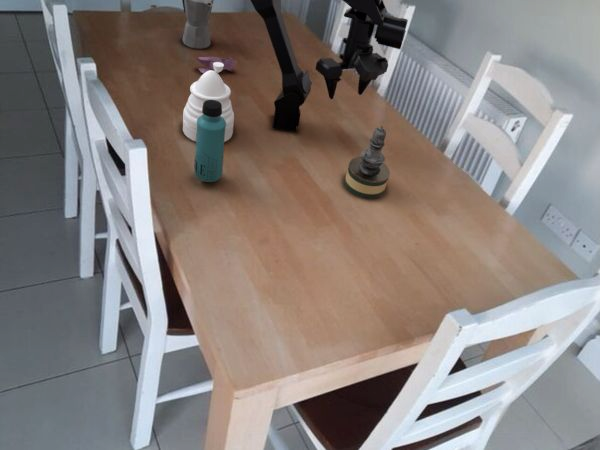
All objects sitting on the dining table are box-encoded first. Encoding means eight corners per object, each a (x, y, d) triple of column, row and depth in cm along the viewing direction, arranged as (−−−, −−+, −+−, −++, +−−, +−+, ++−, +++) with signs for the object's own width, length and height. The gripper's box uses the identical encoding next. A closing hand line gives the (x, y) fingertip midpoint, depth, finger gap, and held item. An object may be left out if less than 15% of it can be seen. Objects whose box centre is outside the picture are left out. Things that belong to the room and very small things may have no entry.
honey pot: (211, 112, 152) (216, 50, 141) (242, 135, 146) (249, 71, 135) (172, 125, 144) (173, 60, 133) (203, 149, 138) (207, 83, 127)
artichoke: (200, 56, 164) (238, 57, 170) (196, 53, 167) (233, 54, 173) (199, 74, 167) (237, 74, 172) (195, 70, 170) (232, 70, 175)
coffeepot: (220, 48, 183) (224, -7, 172) (196, 53, 178) (199, -4, 166) (192, 30, 191) (194, -25, 179) (168, 34, 185) (169, -22, 173)
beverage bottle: (226, 176, 132) (233, 101, 119) (214, 191, 127) (220, 114, 114) (201, 167, 133) (206, 92, 120) (188, 182, 128) (191, 104, 115)
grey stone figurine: (370, 178, 132) (383, 135, 124) (352, 165, 135) (364, 122, 127) (386, 171, 135) (399, 128, 127) (368, 158, 138) (381, 116, 130)
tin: (345, 196, 134) (350, 178, 130) (342, 171, 141) (347, 154, 138) (387, 200, 135) (393, 183, 132) (381, 176, 143) (387, 159, 139)
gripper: (347, 56, 125) (333, 117, 135) (409, 49, 134) (392, 107, 144) (320, 35, 131) (309, 95, 141) (381, 30, 140) (366, 86, 150)
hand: (345, 96), depth 144 cm, fingers open, 9 cm apart
